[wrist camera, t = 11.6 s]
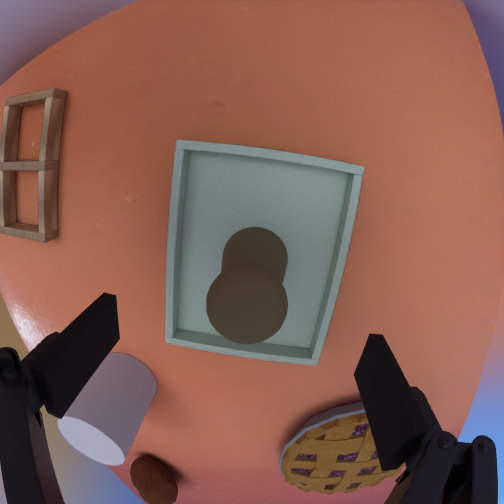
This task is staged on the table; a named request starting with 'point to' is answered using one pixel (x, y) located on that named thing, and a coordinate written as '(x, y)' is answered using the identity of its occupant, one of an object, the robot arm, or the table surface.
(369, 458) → the pie
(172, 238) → the tray
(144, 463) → the potato
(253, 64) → the table surface
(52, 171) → the two-slot wooden frame
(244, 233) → the brown pawn
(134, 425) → the cup
